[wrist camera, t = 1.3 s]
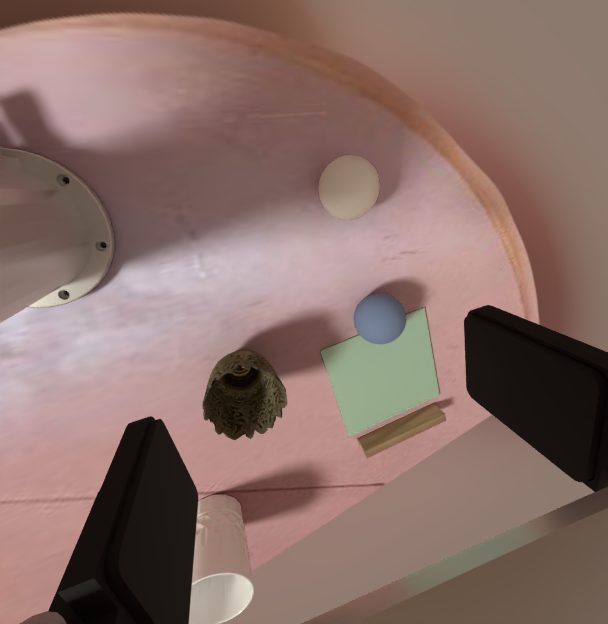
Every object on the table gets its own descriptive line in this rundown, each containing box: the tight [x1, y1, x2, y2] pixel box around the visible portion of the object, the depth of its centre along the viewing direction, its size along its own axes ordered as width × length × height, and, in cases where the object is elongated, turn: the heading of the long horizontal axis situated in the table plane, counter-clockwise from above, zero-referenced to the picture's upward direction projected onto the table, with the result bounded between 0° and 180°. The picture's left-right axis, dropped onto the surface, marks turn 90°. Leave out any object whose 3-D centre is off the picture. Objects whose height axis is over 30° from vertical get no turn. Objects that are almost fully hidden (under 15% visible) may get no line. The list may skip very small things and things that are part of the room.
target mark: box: [320, 307, 439, 437], centre depth 42 cm, size 14×14×1 cm
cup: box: [203, 351, 287, 440], centre depth 32 cm, size 8×7×8 cm
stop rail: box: [358, 403, 446, 458], centre depth 44 cm, size 1×12×2 cm, turn 108°
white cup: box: [189, 494, 254, 624], centre depth 38 cm, size 8×8×10 cm
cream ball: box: [318, 155, 380, 220], centre depth 30 cm, size 6×6×6 cm
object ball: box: [354, 293, 406, 344], centre depth 35 cm, size 6×6×6 cm
